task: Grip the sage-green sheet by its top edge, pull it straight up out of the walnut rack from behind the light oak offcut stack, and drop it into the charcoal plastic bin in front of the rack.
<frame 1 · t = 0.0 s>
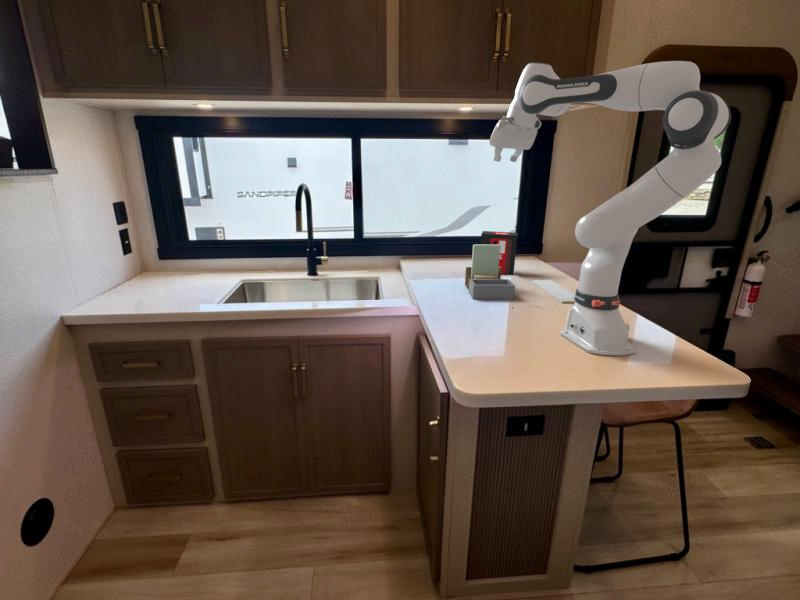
hand: (504, 161, 140), 52 cm above the table, tool tilted 20°, fingers open, 8 cm apart
sheet: (483, 286, 175), point 1 cm above the table, touching rack
bin: (490, 299, 164), on the table
offcut upper: (484, 282, 170), point 4 cm above the table, touching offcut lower
rack: (484, 291, 174), on the table
cleaning product box: (496, 273, 204), on the table
baseboard molding: (558, 293, 175), on the table
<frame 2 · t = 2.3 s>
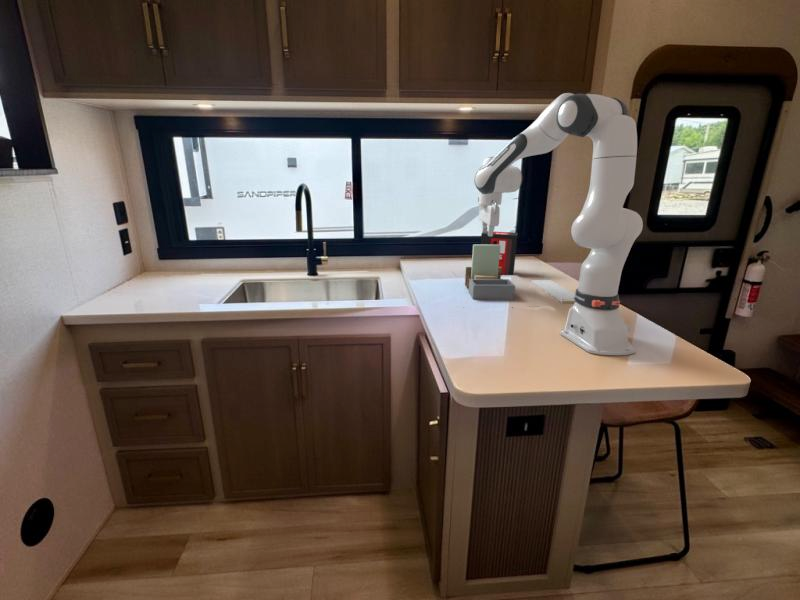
hand: (487, 234, 169), 24 cm above the table, tool pointing down, fingers open, 8 cm apart
nothing on the table moved.
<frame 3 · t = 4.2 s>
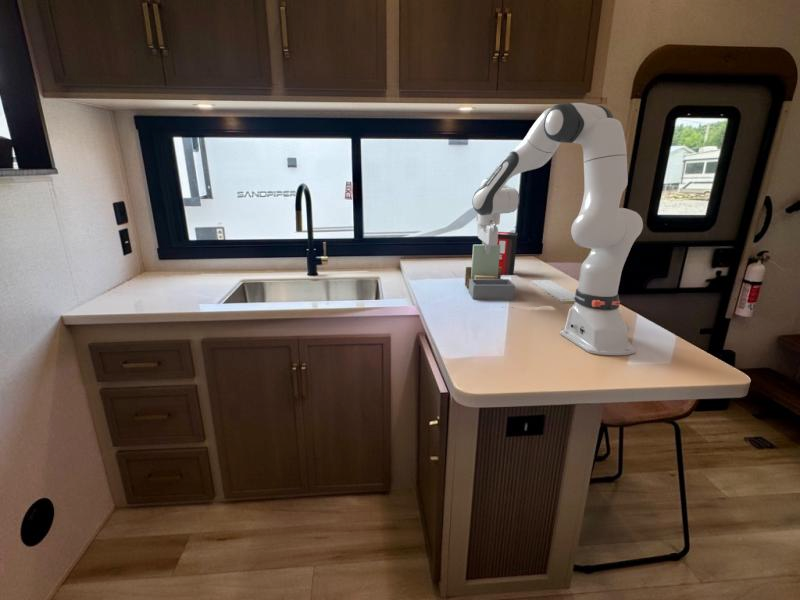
hand: (486, 253, 171), 16 cm above the table, tool pointing down, fingers closed on sheet, 2 cm apart
sheet: (483, 286, 175), point 2 cm above the table, touching gripper, rack
everything else where it was.
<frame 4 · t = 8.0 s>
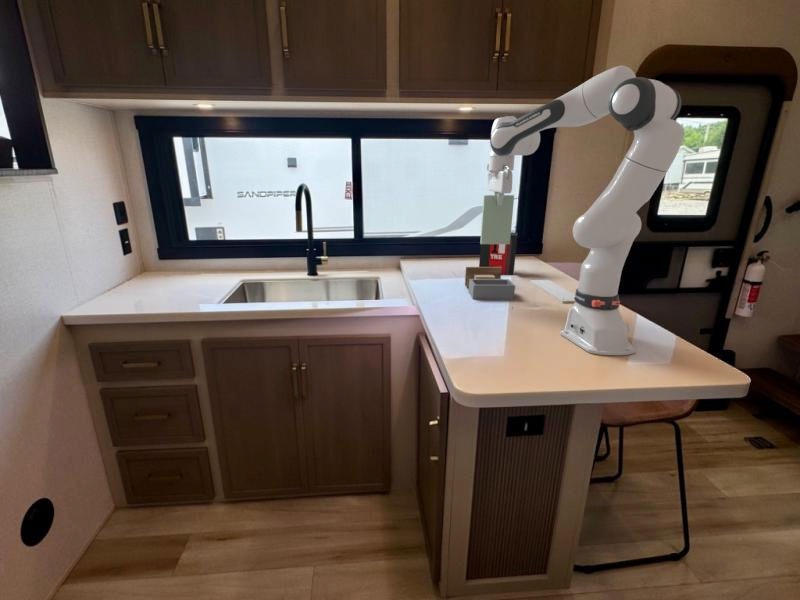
hand: (498, 204, 153), 37 cm above the table, tool pointing down, fingers closed on sheet
sheet: (494, 243, 157), point 22 cm above the table, touching gripper
everything else where it was.
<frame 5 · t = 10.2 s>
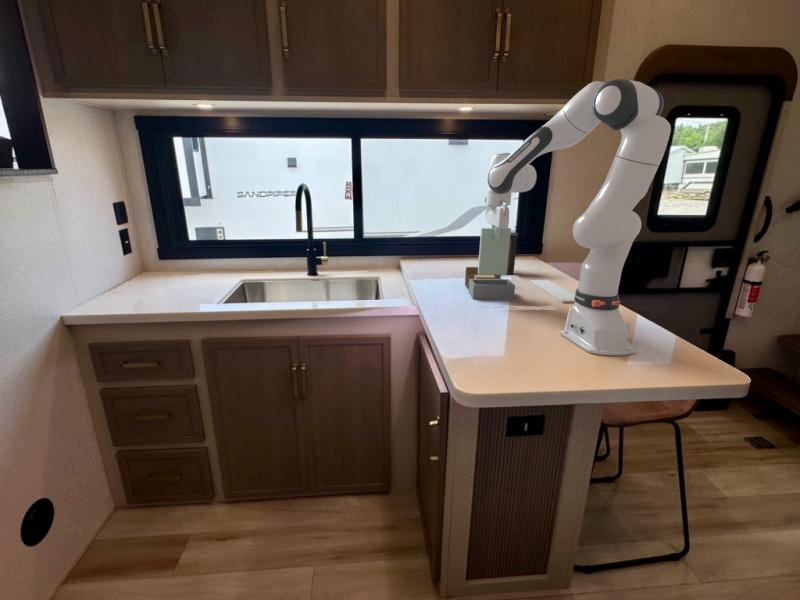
hand: (495, 237, 156), 25 cm above the table, tool pointing down, fingers closed on sheet
sheet: (492, 274, 161), point 10 cm above the table, touching gripper
everything else where it was.
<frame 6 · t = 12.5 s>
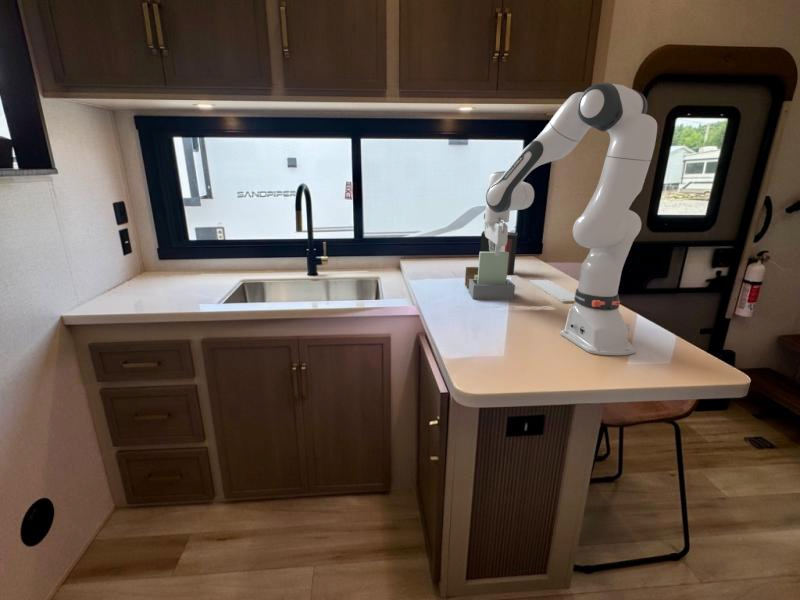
hand: (494, 253, 158), 19 cm above the table, tool pointing down, fingers open, 6 cm apart
sheet: (490, 296, 164), point 1 cm above the table, touching bin
everything else where it was.
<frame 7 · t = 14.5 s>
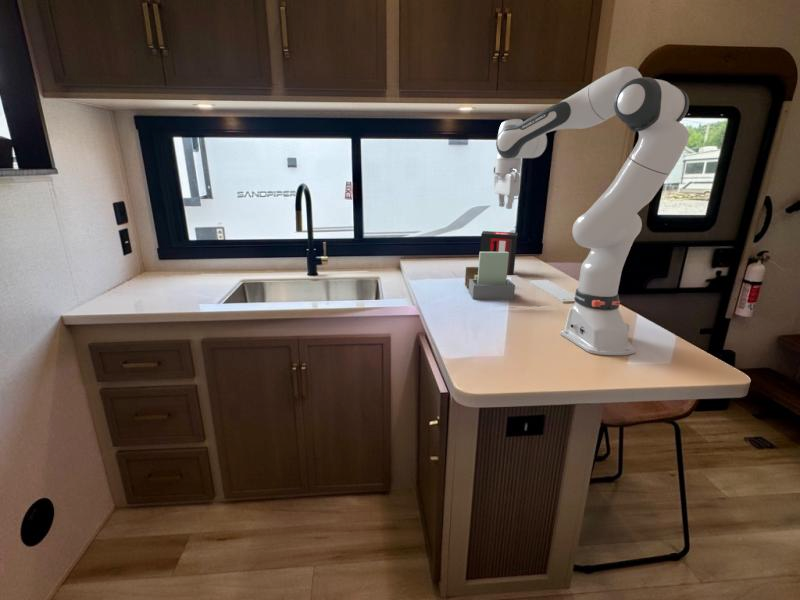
hand: (505, 207, 152), 36 cm above the table, tool pointing down, fingers open, 8 cm apart
nothing on the table moved.
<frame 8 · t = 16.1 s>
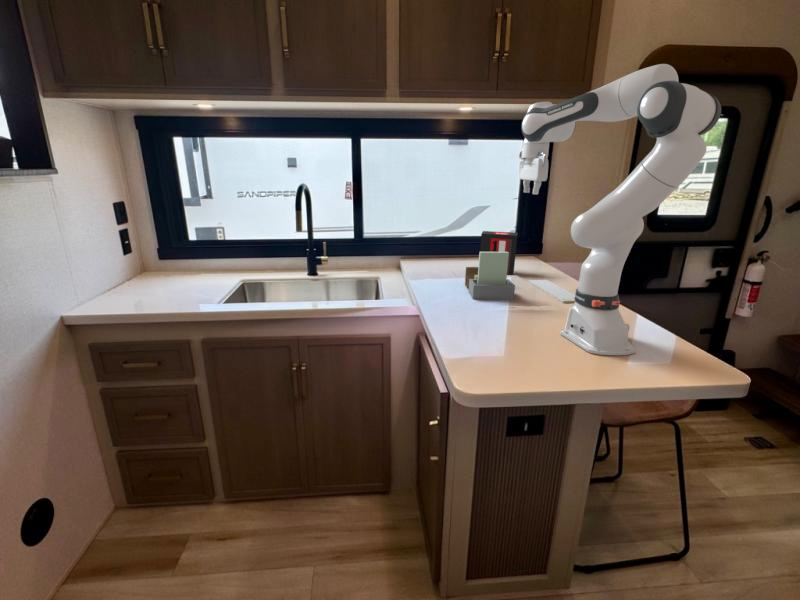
hand: (530, 193, 149), 41 cm above the table, tool pointing down, fingers open, 8 cm apart
nothing on the table moved.
at the end: sheet inside the target area on the bin (0.0 cm from its centre), point 1.0 cm above the bin's base; the gripper is holding nothing; offcut upper moved 0.1 cm from its start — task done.
